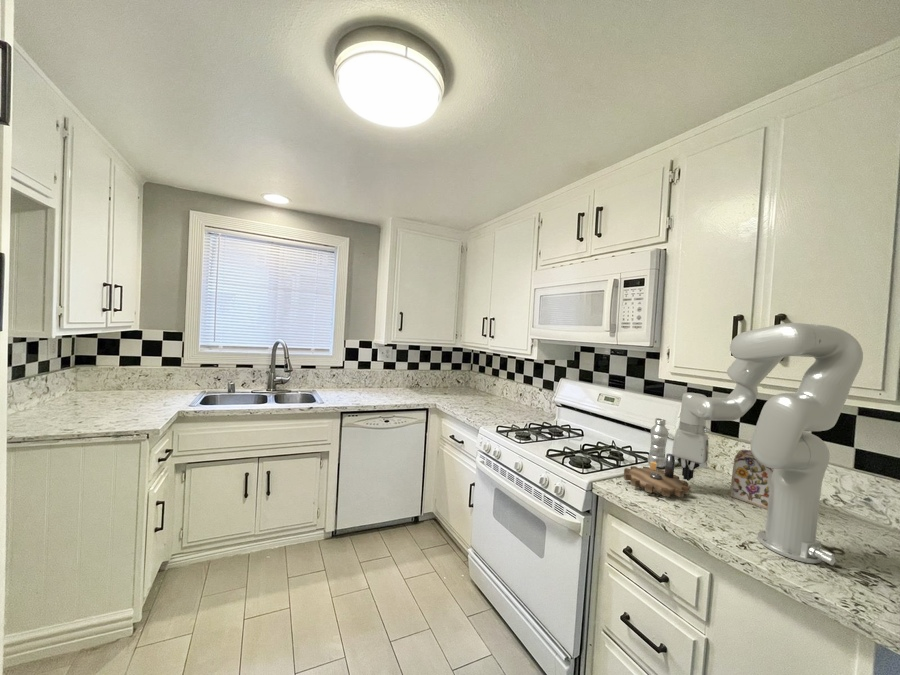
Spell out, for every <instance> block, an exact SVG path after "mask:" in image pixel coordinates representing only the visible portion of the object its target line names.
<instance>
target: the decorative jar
mask: <svg viewBox="0 0 900 675" xmlns="http://www.w3.org/2000/svg"><path fill="white" fill-rule="evenodd" d="M773 470H774V469H773V468H769V467H766V466H764V465H762V464H760V463H759V462H758V461H757V460H756V459H755V458H754V456H753V454H752V451H751V449H750V450H749V449H741V450H739V451H738V452H737V454H736V455H735V456H734V458H733V465H732V473H731V481H730V482H731V483H730V492H729V493H730V494H729V496H730V498H734V499H736V500H739V501H742V502H745V503H748V504H750V505H753V506H757V507H758V508H762V509H764V510H767V511H768V502H769V492H770V484H771V477H772V473H773Z"/></svg>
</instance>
